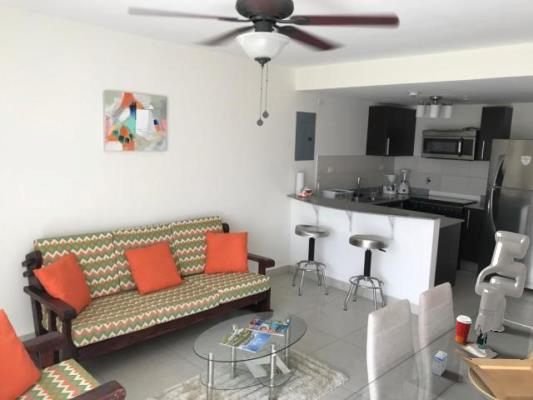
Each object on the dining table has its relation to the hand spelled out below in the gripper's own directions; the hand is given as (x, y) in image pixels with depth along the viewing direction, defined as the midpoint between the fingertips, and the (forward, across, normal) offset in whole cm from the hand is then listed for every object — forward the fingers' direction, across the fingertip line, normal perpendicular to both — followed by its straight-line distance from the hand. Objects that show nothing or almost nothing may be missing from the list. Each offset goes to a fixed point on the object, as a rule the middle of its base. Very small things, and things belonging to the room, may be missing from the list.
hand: (481, 343), depth 233 cm
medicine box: (+4, +40, 0) cm, 40 cm away
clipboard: (+4, +6, +1) cm, 7 cm away
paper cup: (+4, +1, -10) cm, 11 cm away
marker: (+3, 0, 0) cm, 3 cm away
